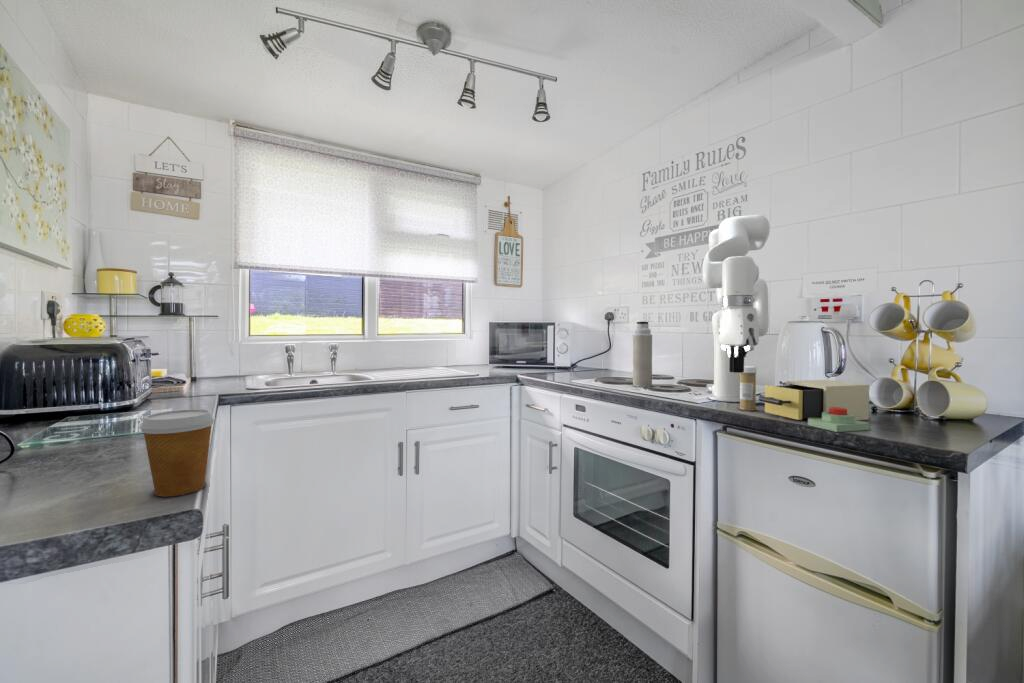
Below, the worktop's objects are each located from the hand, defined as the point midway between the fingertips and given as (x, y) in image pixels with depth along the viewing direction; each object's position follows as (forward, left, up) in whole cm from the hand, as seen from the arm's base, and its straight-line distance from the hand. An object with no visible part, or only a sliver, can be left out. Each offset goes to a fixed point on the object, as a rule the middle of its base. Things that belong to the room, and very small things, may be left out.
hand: (736, 372), depth 119 cm
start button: (+12, +20, -10) cm, 26 cm away
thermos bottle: (-73, +14, -14) cm, 76 cm away
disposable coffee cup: (+21, -121, -14) cm, 123 cm away
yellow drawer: (0, +19, -13) cm, 23 cm away
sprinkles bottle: (-14, +16, -14) cm, 26 cm away
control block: (+12, +20, -13) cm, 27 cm away
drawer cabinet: (0, +30, -13) cm, 33 cm away
